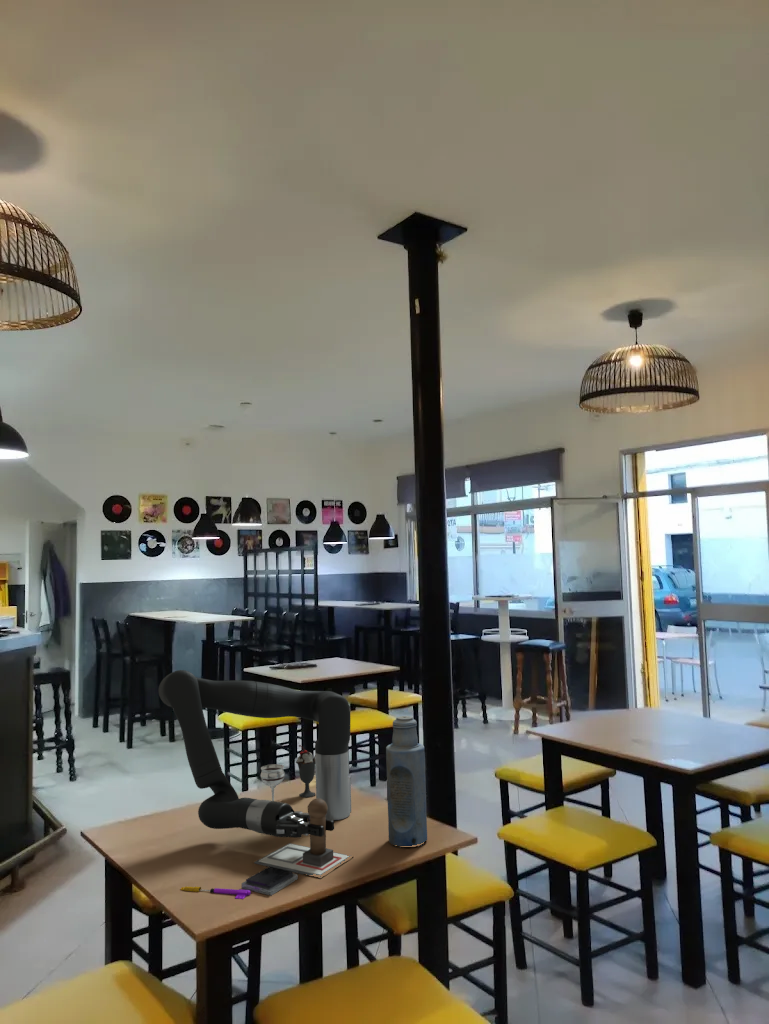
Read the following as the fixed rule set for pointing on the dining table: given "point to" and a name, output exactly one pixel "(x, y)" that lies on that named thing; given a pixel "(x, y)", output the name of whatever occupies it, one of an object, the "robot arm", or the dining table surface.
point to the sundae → (306, 771)
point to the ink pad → (269, 880)
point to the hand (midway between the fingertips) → (328, 828)
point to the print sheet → (297, 860)
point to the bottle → (406, 785)
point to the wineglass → (272, 776)
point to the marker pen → (221, 891)
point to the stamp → (318, 849)
